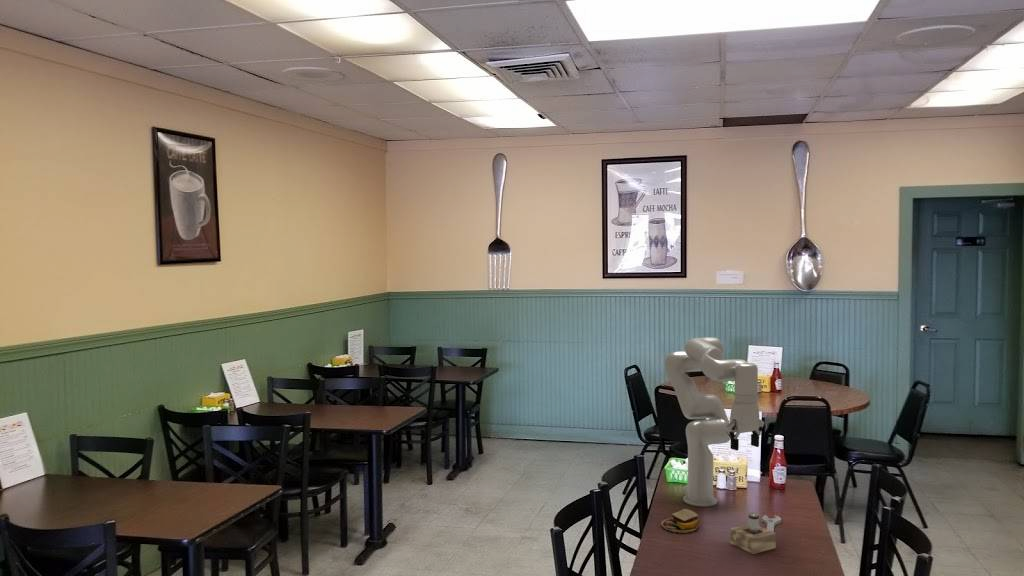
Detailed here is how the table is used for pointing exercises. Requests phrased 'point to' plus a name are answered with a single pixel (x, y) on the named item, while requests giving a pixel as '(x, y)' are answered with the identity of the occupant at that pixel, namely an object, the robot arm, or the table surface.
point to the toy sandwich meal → (682, 522)
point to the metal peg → (753, 523)
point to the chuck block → (753, 539)
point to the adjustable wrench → (771, 522)
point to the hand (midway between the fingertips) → (744, 447)
